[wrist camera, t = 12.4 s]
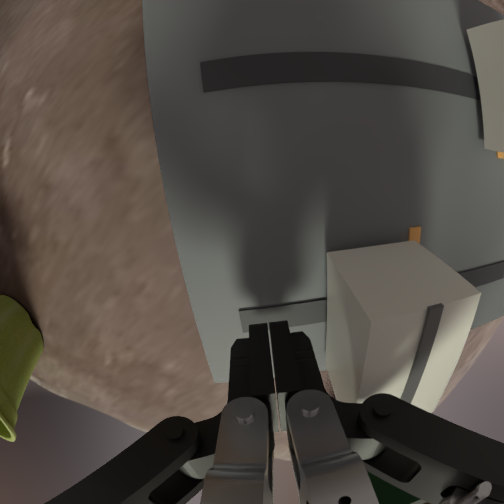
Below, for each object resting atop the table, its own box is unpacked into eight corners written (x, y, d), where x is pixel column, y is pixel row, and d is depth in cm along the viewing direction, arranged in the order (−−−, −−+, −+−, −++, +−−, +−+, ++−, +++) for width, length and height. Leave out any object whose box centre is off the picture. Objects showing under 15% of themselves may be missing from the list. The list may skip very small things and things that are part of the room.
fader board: (160, -1, 9) (141, -28, 6) (481, 26, 8) (510, 18, 6) (218, 347, 17) (214, 384, 14) (482, 294, 16) (505, 315, 13)
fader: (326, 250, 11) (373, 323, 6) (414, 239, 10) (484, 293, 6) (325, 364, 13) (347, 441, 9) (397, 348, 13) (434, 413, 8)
